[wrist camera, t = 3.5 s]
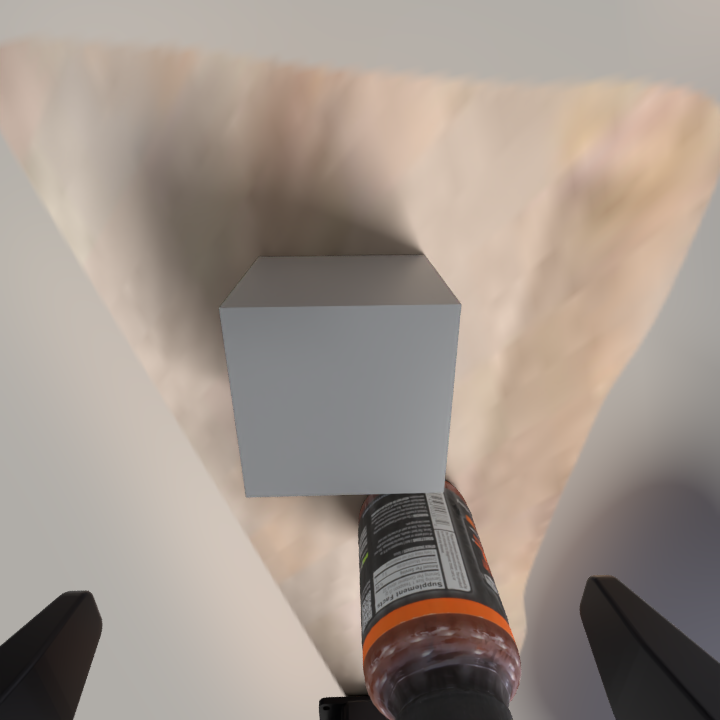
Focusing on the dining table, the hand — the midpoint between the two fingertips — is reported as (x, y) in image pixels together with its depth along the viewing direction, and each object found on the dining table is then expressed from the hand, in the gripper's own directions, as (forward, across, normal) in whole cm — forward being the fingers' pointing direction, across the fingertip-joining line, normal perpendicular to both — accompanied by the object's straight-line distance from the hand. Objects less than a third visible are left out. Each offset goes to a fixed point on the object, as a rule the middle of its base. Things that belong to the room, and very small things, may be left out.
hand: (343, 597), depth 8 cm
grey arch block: (+13, 0, 0) cm, 13 cm away
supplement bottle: (+13, -4, +11) cm, 17 cm away
